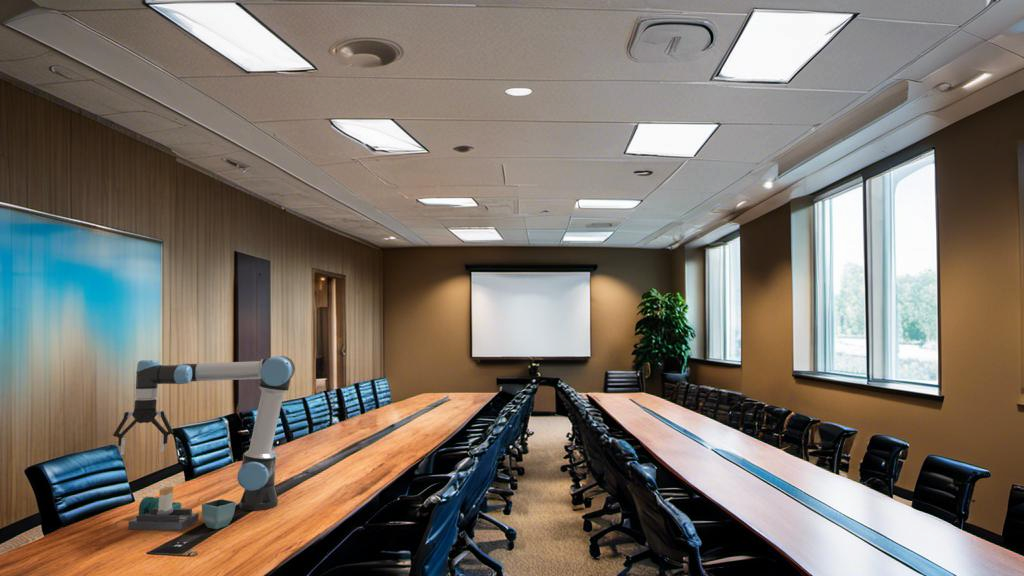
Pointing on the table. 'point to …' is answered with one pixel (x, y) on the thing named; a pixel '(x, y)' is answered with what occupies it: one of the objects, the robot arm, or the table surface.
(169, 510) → the breaker lever
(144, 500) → the bracket
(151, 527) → the breaker panel
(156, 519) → the dark grey rectangular piece
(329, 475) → the table surface
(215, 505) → the flower pot
